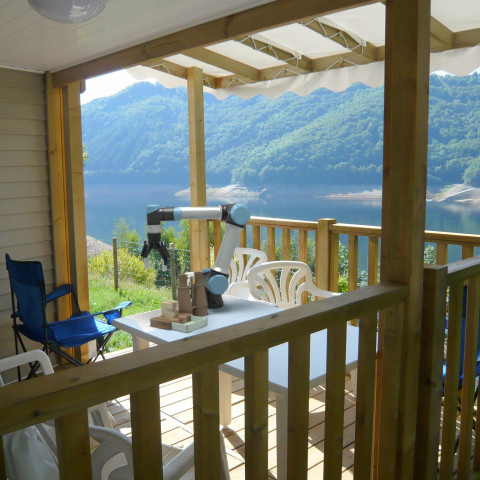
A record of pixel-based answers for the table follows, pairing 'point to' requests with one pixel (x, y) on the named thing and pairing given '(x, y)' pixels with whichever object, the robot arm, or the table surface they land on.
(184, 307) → the binoculars
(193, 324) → the tray
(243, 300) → the table surface
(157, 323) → the board
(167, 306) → the block
